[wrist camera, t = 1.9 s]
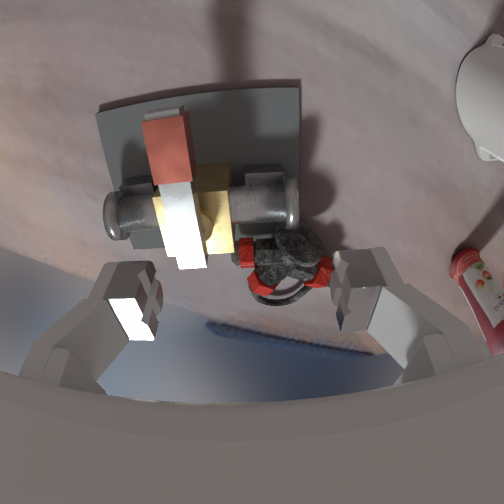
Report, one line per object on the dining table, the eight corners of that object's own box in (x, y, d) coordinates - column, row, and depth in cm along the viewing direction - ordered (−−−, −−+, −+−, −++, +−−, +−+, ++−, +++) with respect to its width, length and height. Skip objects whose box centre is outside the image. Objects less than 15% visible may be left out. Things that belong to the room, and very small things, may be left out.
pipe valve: (291, 158, 31) (302, 189, 26) (291, 213, 36) (300, 251, 30) (117, 175, 32) (91, 207, 26) (131, 224, 36) (112, 262, 30)
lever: (212, 246, 29) (209, 268, 26) (182, 248, 29) (176, 270, 27) (190, 100, 20) (181, 108, 18) (152, 106, 20) (140, 115, 18)
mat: (297, 86, 27) (298, 87, 26) (296, 235, 39) (297, 239, 38) (98, 112, 28) (95, 114, 27) (135, 245, 39) (133, 249, 39)
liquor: (441, 278, 45) (506, 418, 23) (449, 246, 40) (533, 395, 18) (471, 270, 44) (538, 398, 22) (481, 239, 40) (564, 372, 18)
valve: (205, 268, 44) (251, 199, 34) (341, 305, 53) (400, 260, 43) (201, 306, 40) (251, 242, 30) (346, 336, 49) (412, 296, 39)
